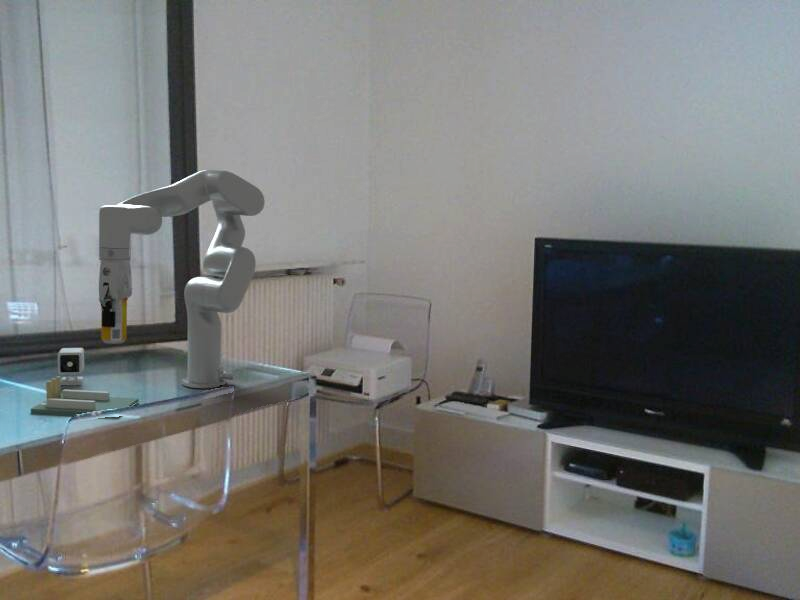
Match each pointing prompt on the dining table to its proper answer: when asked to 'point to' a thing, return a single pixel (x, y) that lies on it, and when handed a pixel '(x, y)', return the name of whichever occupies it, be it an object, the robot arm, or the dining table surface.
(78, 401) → the board
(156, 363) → the dining table surface
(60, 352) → the security camera
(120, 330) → the beer can
